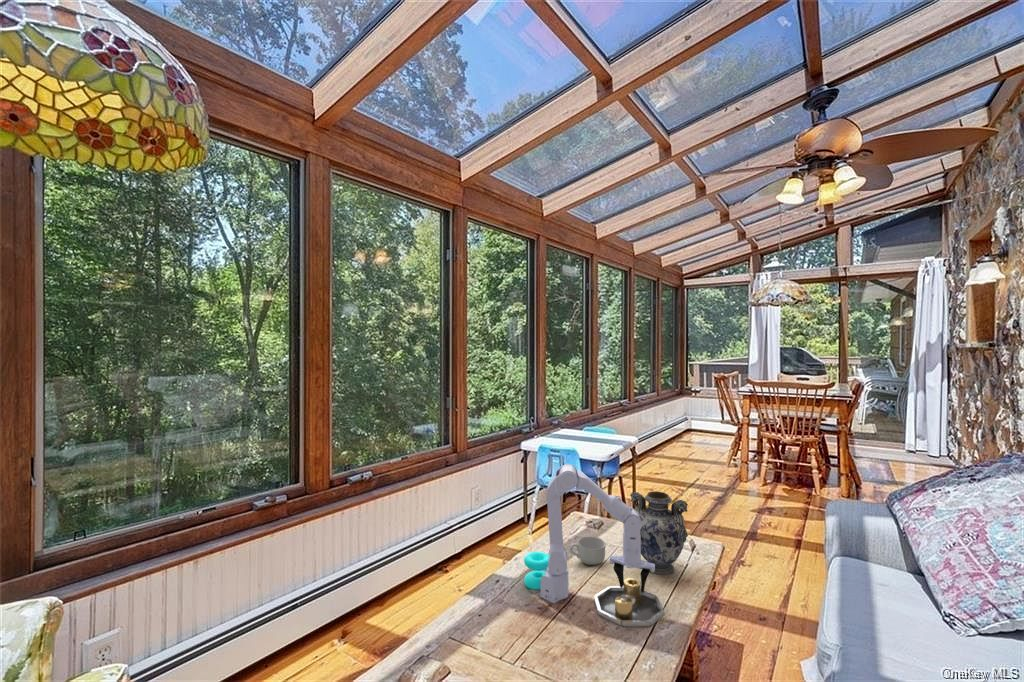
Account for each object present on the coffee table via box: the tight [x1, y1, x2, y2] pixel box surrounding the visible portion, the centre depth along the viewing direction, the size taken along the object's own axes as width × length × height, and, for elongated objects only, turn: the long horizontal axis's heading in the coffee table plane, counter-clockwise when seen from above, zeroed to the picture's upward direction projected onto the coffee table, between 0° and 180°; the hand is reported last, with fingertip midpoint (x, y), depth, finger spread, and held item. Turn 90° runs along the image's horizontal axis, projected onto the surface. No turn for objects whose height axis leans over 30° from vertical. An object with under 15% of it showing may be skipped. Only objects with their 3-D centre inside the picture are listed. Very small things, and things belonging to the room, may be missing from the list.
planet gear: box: [623, 577, 641, 602], centre depth 157 cm, size 5×5×5 cm
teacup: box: [569, 535, 606, 567], centre depth 184 cm, size 14×11×8 cm
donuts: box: [523, 551, 549, 590], centre depth 167 cm, size 10×10×10 cm
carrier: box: [593, 584, 665, 628], centre depth 151 cm, size 21×21×7 cm
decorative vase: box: [629, 491, 689, 576], centre depth 178 cm, size 21×19×28 cm
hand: (632, 588), depth 157 cm, fingers open, 6 cm apart
